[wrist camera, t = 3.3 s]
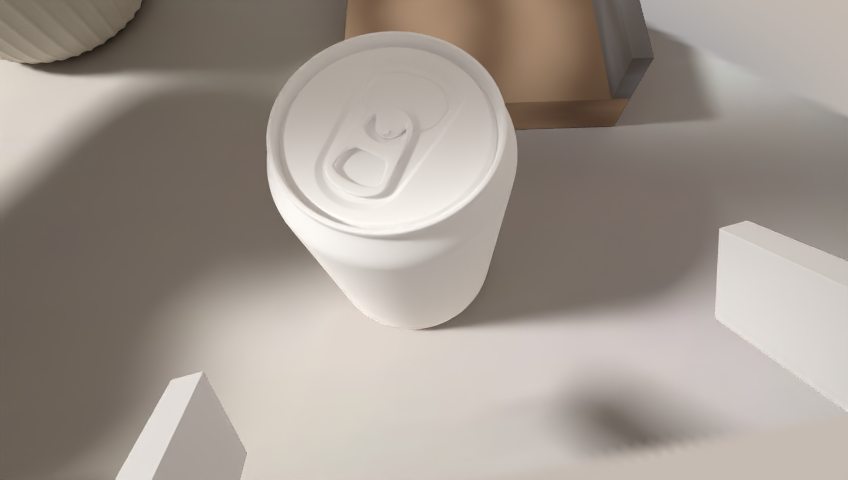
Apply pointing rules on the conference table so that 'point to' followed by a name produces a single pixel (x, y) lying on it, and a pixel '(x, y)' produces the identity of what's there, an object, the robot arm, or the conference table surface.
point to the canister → (59, 27)
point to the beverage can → (394, 172)
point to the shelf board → (533, 50)
